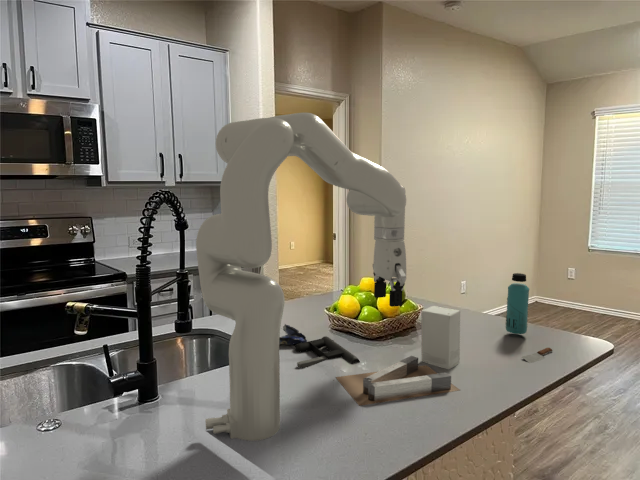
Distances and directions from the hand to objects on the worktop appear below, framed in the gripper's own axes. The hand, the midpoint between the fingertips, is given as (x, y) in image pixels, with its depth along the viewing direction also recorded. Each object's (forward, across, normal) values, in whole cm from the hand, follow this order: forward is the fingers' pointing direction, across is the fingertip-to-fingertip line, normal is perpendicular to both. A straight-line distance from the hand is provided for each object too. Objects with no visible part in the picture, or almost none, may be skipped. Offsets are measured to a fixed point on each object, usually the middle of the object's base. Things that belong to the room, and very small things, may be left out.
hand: (387, 301), depth 120 cm
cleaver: (+19, -5, -45) cm, 49 cm away
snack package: (+19, +27, +19) cm, 38 cm away
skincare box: (+18, -3, -14) cm, 23 cm away
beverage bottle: (+18, +12, -51) cm, 55 cm away
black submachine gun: (+19, +12, +14) cm, 26 cm away
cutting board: (+18, -12, +3) cm, 22 cm away
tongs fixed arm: (+17, -17, +2) cm, 24 cm away
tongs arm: (+17, -10, +4) cm, 20 cm away
